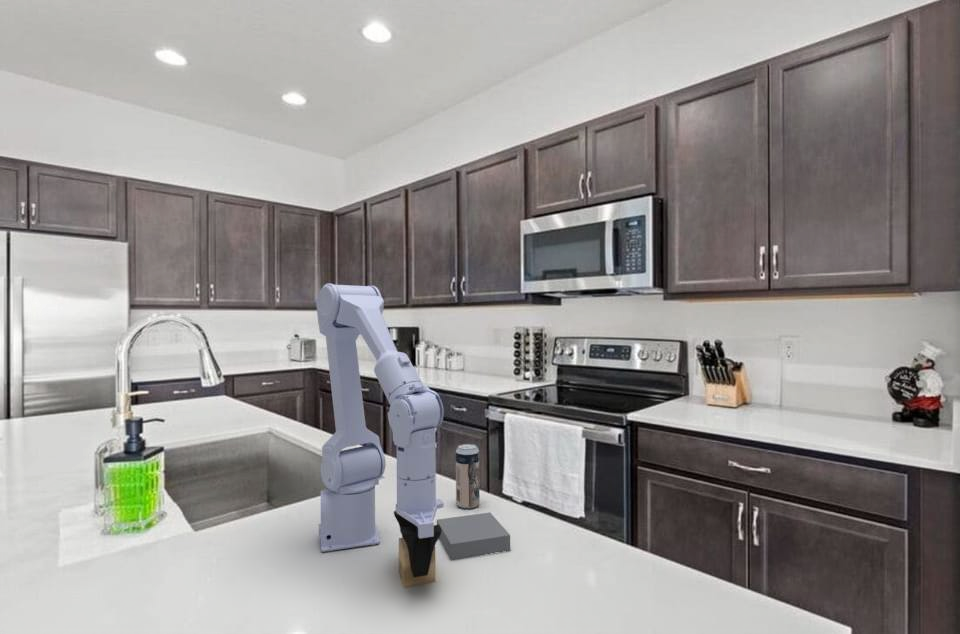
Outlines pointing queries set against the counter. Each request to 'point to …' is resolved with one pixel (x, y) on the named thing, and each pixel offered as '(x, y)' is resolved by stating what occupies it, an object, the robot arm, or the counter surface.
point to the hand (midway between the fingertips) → (416, 566)
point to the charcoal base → (473, 536)
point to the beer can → (467, 476)
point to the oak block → (406, 568)
